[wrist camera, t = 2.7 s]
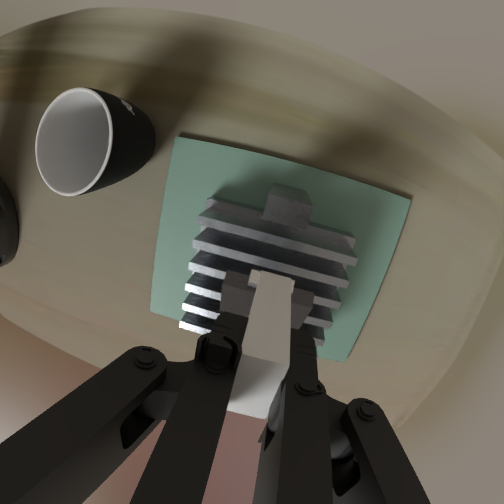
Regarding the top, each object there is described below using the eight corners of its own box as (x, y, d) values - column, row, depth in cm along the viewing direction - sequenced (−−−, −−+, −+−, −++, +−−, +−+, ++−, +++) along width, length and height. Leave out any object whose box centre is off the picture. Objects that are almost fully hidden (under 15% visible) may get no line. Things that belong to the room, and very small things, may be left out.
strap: (218, 350, 27) (214, 362, 26) (229, 260, 16) (222, 278, 15) (269, 364, 27) (267, 376, 26) (317, 283, 16) (315, 303, 15)
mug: (180, 114, 27) (130, 99, 17) (149, 194, 30) (93, 213, 20) (94, 88, 26) (34, 76, 17) (71, 159, 29) (10, 168, 20)
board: (151, 308, 34) (149, 310, 33) (177, 136, 27) (175, 136, 27) (343, 359, 33) (344, 362, 33) (408, 199, 26) (411, 200, 26)
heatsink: (190, 313, 33) (161, 361, 24) (218, 168, 27) (187, 174, 19) (309, 344, 32) (313, 401, 24) (360, 207, 27) (389, 229, 18)
